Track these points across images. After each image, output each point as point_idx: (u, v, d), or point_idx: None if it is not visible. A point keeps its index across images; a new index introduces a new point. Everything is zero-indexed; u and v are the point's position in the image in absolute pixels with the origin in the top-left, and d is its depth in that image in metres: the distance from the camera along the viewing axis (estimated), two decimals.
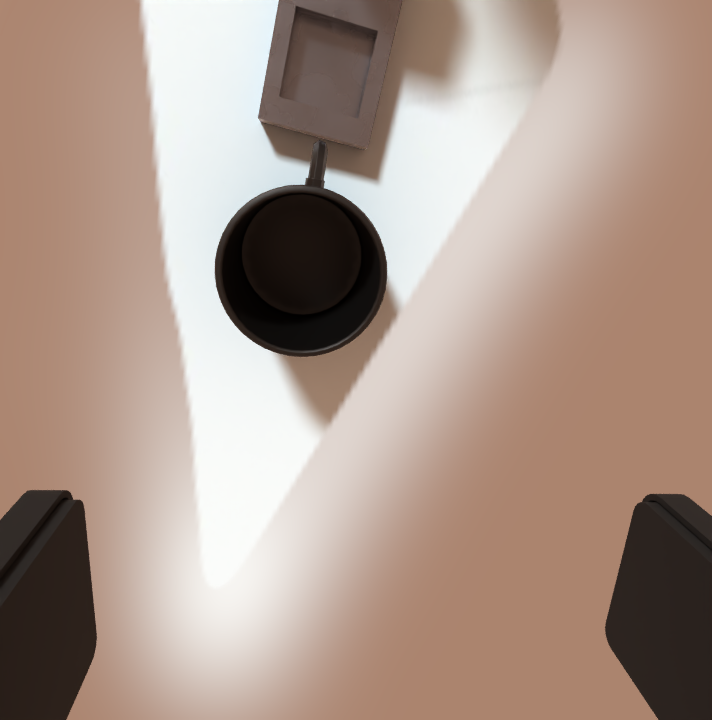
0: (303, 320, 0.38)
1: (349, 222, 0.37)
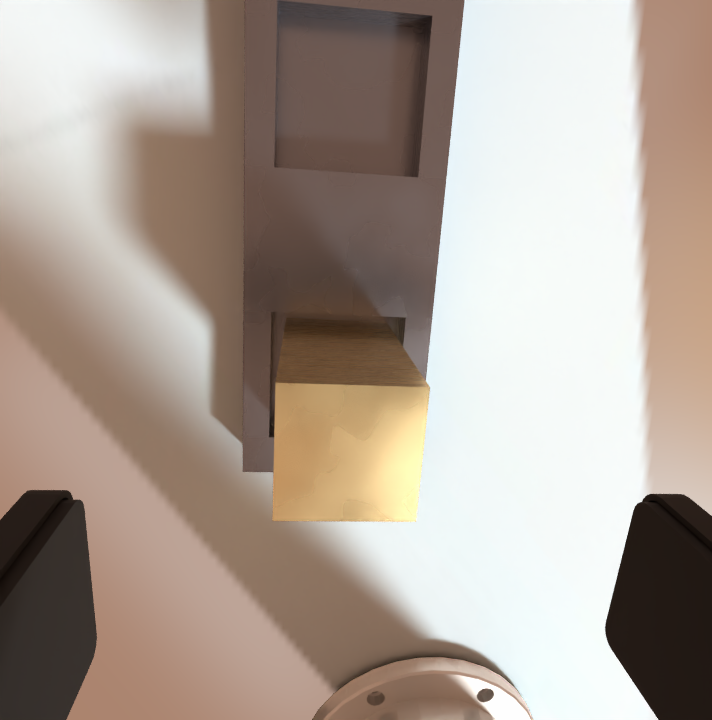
0: None
1: None
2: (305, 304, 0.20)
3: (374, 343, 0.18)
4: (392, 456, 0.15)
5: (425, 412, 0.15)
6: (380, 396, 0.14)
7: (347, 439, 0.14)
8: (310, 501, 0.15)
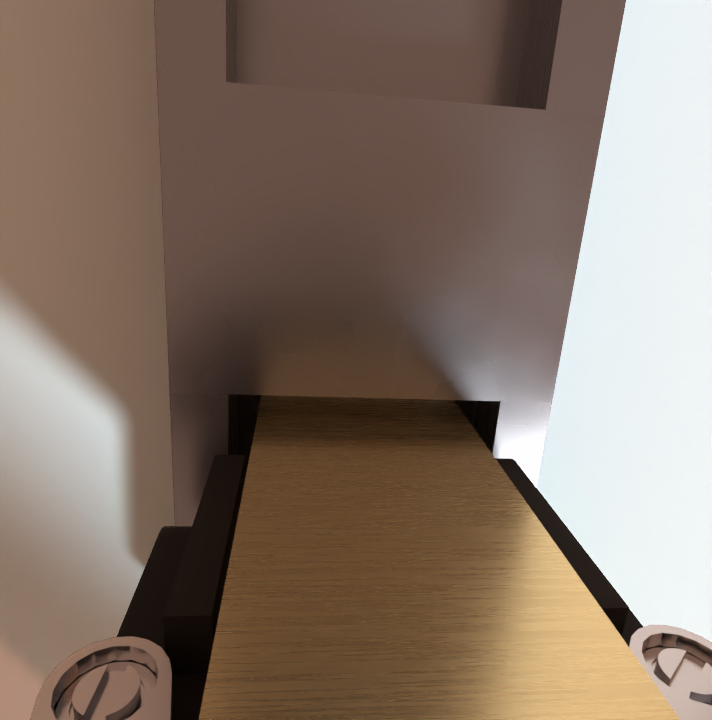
0: None
1: None
2: (298, 378, 0.10)
3: (454, 484, 0.08)
4: None
5: None
6: None
7: None
8: None
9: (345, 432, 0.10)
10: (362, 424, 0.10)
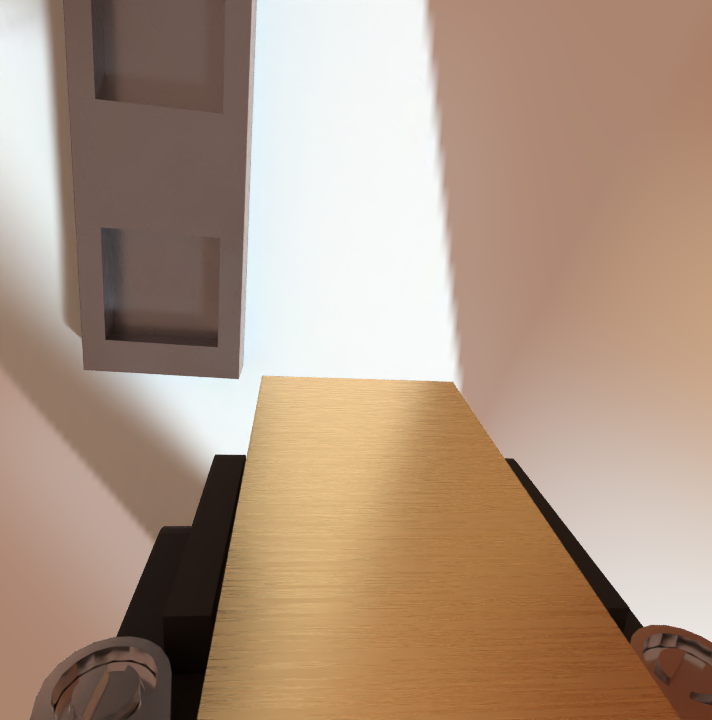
0: None
1: None
2: (130, 222, 0.23)
3: (454, 471, 0.08)
4: None
5: None
6: None
7: None
8: None
9: (345, 417, 0.10)
10: (362, 408, 0.10)
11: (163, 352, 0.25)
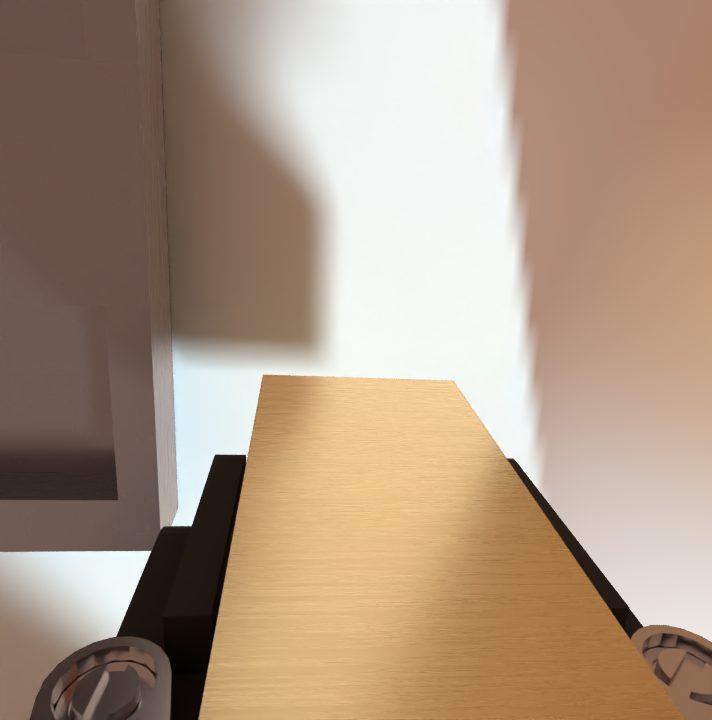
0: None
1: None
2: None
3: (455, 469, 0.08)
4: None
5: None
6: None
7: None
8: None
9: (346, 415, 0.10)
10: (363, 407, 0.10)
11: (16, 514, 0.14)
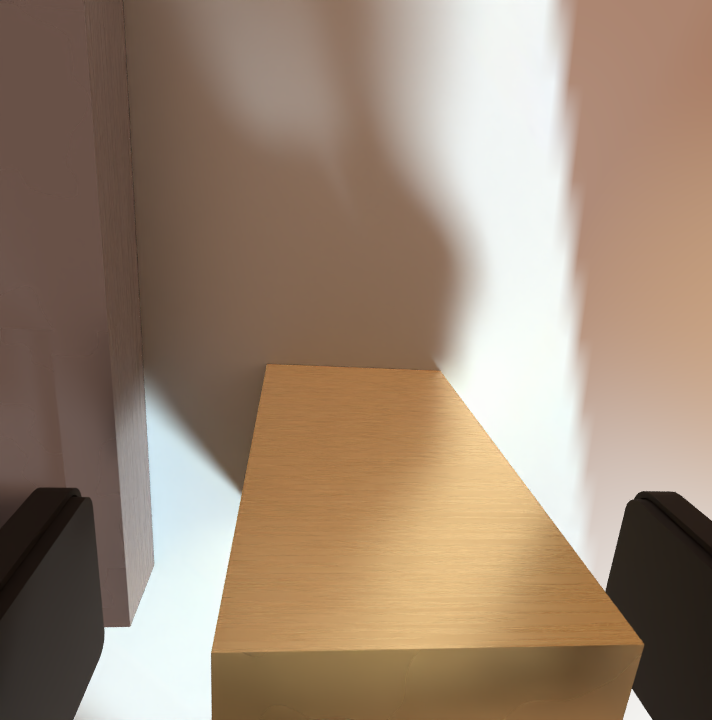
0: None
1: None
2: None
3: (438, 436, 0.09)
4: None
5: (620, 694, 0.05)
6: (510, 671, 0.05)
7: None
8: None
9: (342, 396, 0.11)
10: (357, 390, 0.11)
11: None
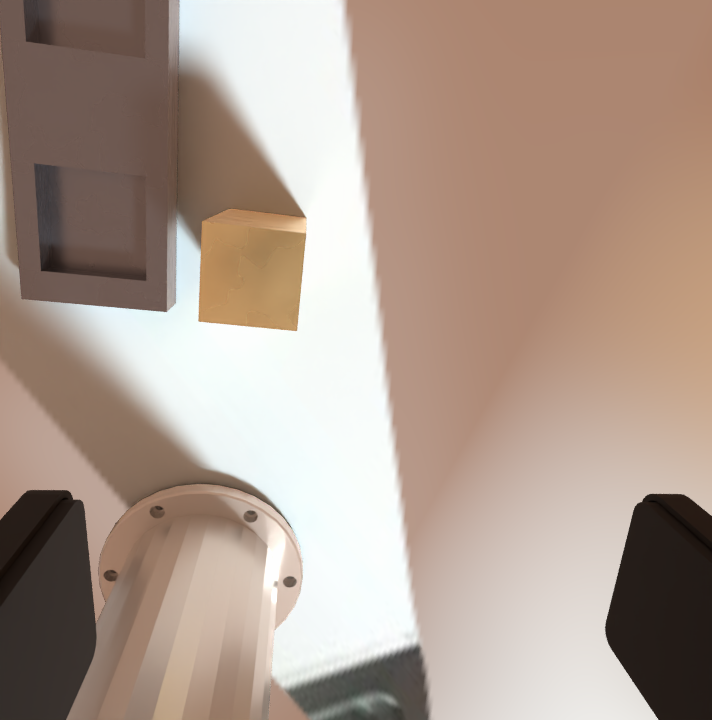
0: None
1: None
2: (61, 159, 0.25)
3: (286, 221, 0.26)
4: (280, 281, 0.22)
5: None
6: (272, 237, 0.21)
7: (250, 266, 0.22)
8: (224, 309, 0.22)
9: (257, 214, 0.27)
10: (264, 214, 0.27)
11: (95, 284, 0.27)
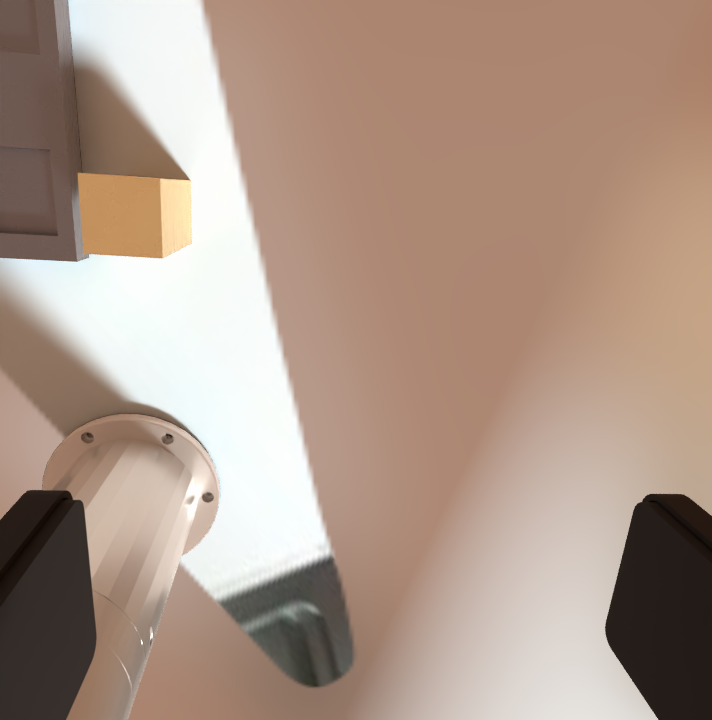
0: None
1: None
2: None
3: None
4: (144, 218, 0.28)
5: (161, 194, 0.28)
6: (134, 182, 0.28)
7: (119, 207, 0.28)
8: (103, 242, 0.28)
9: None
10: None
11: (16, 240, 0.34)
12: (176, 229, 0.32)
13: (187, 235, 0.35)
